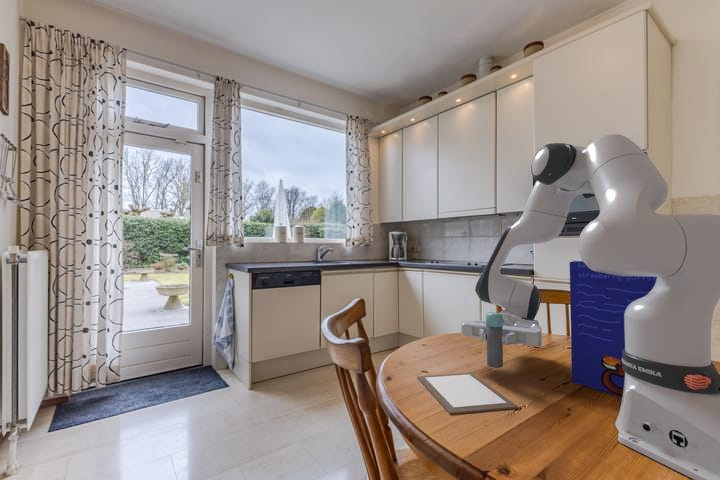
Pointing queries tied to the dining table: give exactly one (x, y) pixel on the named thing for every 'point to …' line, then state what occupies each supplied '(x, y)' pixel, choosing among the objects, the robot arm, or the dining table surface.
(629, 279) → the cereal box
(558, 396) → the dining table surface
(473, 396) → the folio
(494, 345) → the marker
